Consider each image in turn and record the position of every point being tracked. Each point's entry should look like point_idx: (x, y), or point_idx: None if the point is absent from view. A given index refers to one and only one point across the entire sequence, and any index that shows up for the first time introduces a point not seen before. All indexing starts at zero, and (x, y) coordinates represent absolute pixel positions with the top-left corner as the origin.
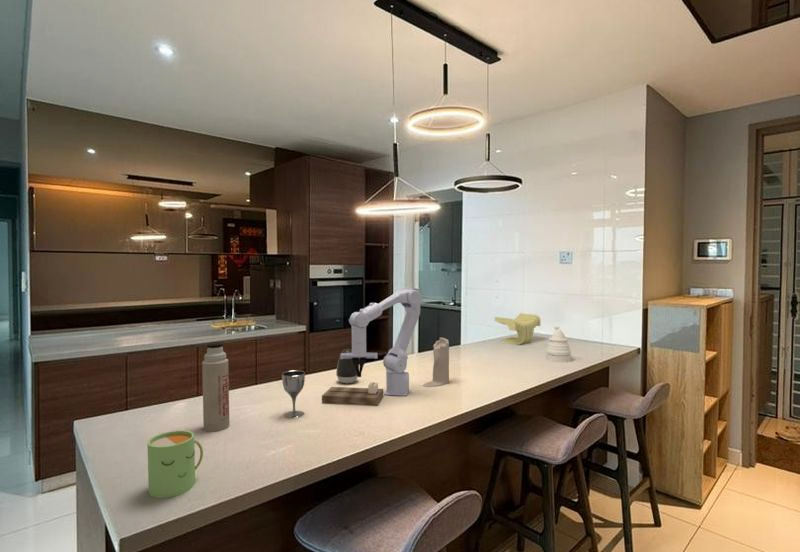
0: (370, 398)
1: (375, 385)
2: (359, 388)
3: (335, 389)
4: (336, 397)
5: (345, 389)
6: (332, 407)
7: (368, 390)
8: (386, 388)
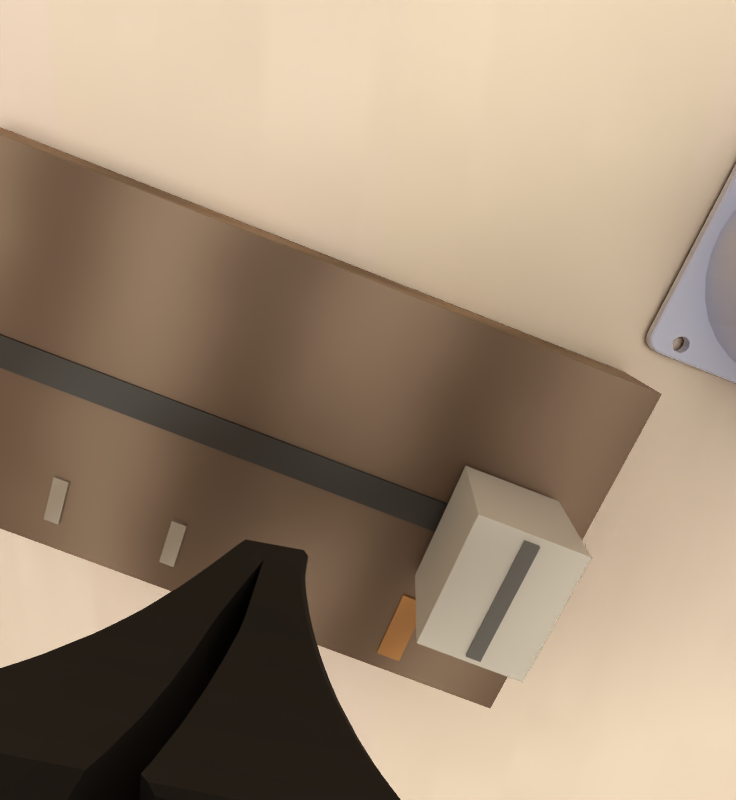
0: (417, 676)
1: (518, 676)
2: (333, 294)
3: (2, 264)
4: (51, 536)
5: (138, 297)
6: (60, 584)
7: (416, 596)
8: (733, 265)
